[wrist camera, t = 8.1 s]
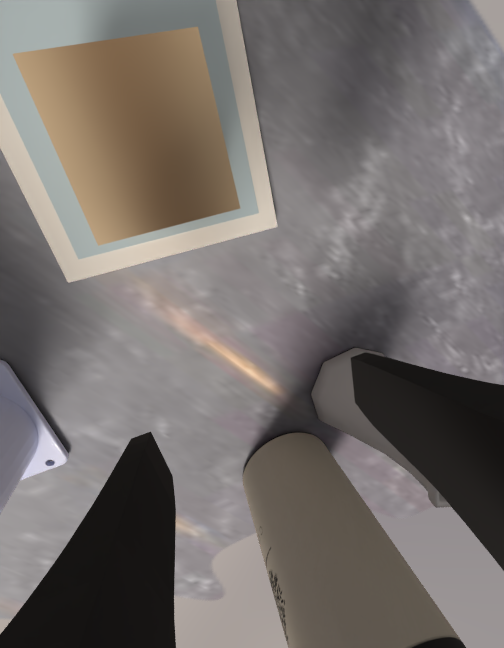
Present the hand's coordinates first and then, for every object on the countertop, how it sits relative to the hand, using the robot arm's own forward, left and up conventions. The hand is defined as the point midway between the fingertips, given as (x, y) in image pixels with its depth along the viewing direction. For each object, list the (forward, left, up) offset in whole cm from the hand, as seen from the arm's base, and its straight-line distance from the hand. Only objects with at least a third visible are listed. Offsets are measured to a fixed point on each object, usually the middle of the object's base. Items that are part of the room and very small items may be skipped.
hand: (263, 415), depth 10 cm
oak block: (-1, +9, -9) cm, 13 cm away
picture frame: (-1, +11, -10) cm, 15 cm away
